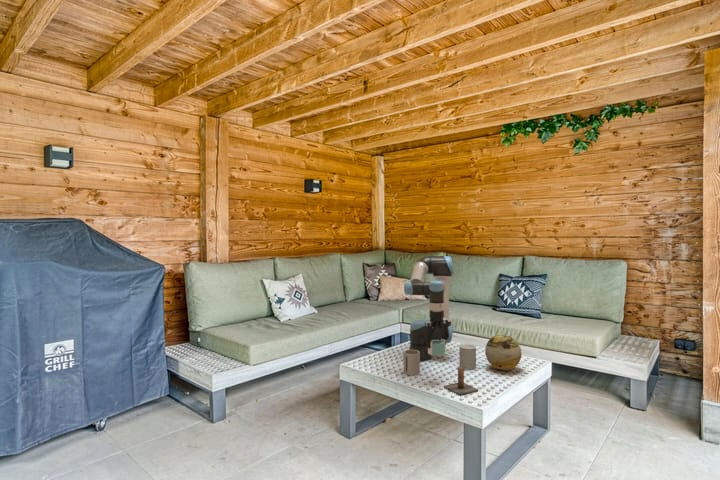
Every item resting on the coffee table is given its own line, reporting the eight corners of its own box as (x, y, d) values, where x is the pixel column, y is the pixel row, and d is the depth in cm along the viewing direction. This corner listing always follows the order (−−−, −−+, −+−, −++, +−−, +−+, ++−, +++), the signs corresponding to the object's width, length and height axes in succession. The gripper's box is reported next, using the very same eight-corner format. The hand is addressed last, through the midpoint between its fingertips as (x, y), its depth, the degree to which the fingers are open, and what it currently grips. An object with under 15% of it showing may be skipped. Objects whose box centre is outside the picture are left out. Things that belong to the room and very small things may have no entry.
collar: (425, 352, 222) (425, 341, 222) (437, 349, 226) (437, 339, 226) (435, 356, 215) (435, 345, 214) (447, 354, 219) (447, 342, 219)
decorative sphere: (482, 363, 251) (482, 330, 250) (516, 364, 249) (516, 331, 248) (489, 374, 231) (489, 339, 230) (525, 376, 229) (526, 340, 228)
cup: (421, 371, 238) (421, 350, 237) (418, 376, 229) (418, 355, 229) (405, 369, 240) (405, 349, 240) (402, 374, 232) (401, 353, 232)
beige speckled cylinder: (476, 370, 238) (476, 349, 238) (459, 369, 240) (459, 348, 240) (475, 365, 247) (475, 344, 247) (459, 364, 249) (459, 343, 249)
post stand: (443, 387, 213) (443, 366, 212) (461, 383, 219) (461, 362, 218) (460, 396, 202) (460, 373, 202) (478, 391, 208) (478, 369, 208)
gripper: (425, 313, 211) (425, 357, 212) (456, 309, 221) (456, 351, 222) (416, 311, 217) (416, 353, 218) (447, 306, 228) (447, 347, 229)
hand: (436, 352), depth 220 cm, fingers closed on collar, 8 cm apart
